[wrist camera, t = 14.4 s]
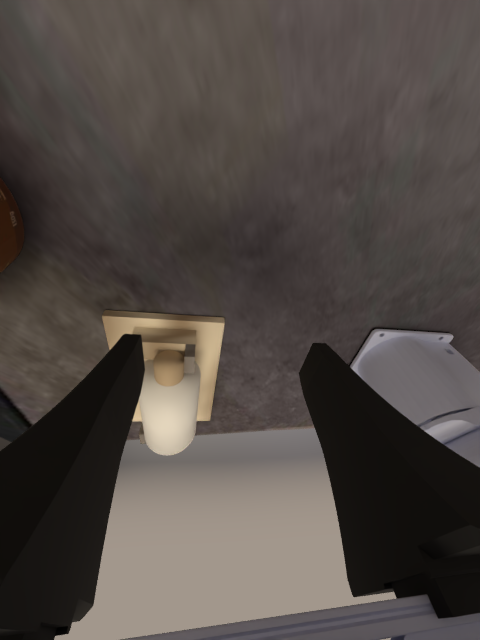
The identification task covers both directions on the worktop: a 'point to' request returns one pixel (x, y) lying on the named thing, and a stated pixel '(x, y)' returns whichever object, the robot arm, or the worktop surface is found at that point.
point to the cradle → (174, 346)
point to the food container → (9, 227)
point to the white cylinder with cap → (169, 403)
